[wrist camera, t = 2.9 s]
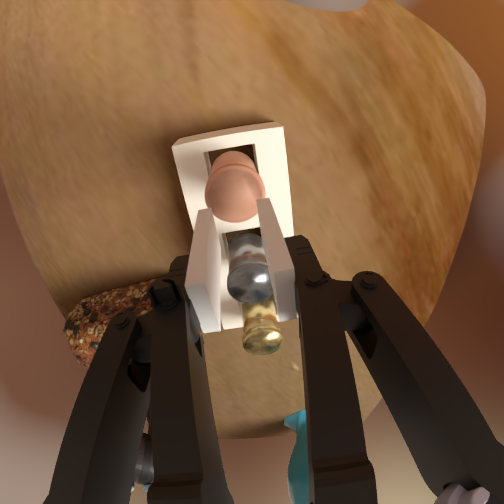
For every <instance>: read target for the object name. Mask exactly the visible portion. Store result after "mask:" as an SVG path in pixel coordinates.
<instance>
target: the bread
mask: <svg viewBox="0 0 504 504" xmlns="http://www.w3.org/2000/svg"><path fill="white" fill-rule="evenodd" d="M165 277H168V275H166V276H165ZM160 278H162V277H160ZM160 278H157V279H160ZM157 279H150V280H148V281H147V282H145V281H144V282H137V283H135V284H131V285H130V286H124V287H120V288H118V289H112V290H110V291H109V292H107V291H105V292H102V293H98V294H95V295H93V296H89V297H87V298H85V299H81V300H80V301H79V302H78V303H77V304H76V306H75V307H74V310H73V311H72V312H70V313H69V314H68V317H67V319H66V323H65V327H64V329H63V330H64V331H63V332H64V336H65V338H66V340H67V342H68V344H69V346H70V349H71V350H72V352H73V354H74V356H75V357H76V358H77V360H78V362H79V363H80V364H81V365H82V366H83V367H84V368H85V369H86V370H87V371H88V368H89V366H90V364H91V361H92V359H93V357H94V354H95V352H96V350H97V347H98V345H99V343H100V341H101V338H102V336H103V334H104V332H105V330H106V327H107V325H108V323H109V321H110V320H111V318H112V317H113V316H114V315H116V314H117V313H119V312H121V311H126V310H129V311H133V312H134V313H135V314H136V316H140V315H143V314H145V313H148V312H150V311H152V310H153V309H154V307H153V305H152V303H151V301H150V299H149V297H148V295H147V293H146V290H147V288H148V286H149V285H150V284H151V283H152V282H154V281H155V280H157ZM200 336H201V338H202V341H203V339H204V333H203V331H202V329H201V326H200ZM203 344H204V341H203ZM203 347H204V345H203Z"/></svg>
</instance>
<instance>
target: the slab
mask: <svg viewBox="0 0 504 504" xmlns="http://www.w3.org/2000/svg"><path fill="white" fill-rule="evenodd" d="M248 144H252V146H253V153H254V159H255V166H256V172H257V173H258V174H259V175H260V177H261V179H262V181H263V184H264V186H265V191H266V197H265V198H270V201H271V203H272V206H273V209H274V212H275V214H276V217H277V220H278V223H279V226H280V228H281V231H282V234H283V237H284V238H285V237H291V236H294V233H293V221H292V209H291V197H290V187H289V177H288V167H287V157H286V148H285V140H284V131H283V126H281V125H280V124H278V123H277V122H268V123H260V124H253V125H246V126H240V127H234V128H228V129H222V130H217V131H212V132H207V133H202V134H197V135H193V136H188V137H184V138H179V139H178V140H177V141H176V142H175V143H174V144H173V145H172V151H173V155H174V159H175V163H176V167H177V171H178V175H179V179H180V183H181V187H182V190H183V194H184V198H185V202H186V206H187V209H188V213H189V217H190V220H191V224H192V227H193V231H194V229H195V224H196V219H197V214H198V210H201V209H206V208H208V207H207V205H206V202H205V197H204V193H205V187H206V183H207V181H208V179H209V177H210V174H211V163H210V159H209V154H208V151H214V150H219V149H224V148H230V147H236V146H242V145H248ZM213 217H214V221H215V225H216V230H217V234H218V238H219V242H220V246H221V279H220V319H221V322H222V325H223V328H224V329H231V328H238V327H243V317H242V304H243V303H242V302H239V301H237V300H235V299H234V298H233V297H231V295H230V294H229V292H228V290H227V276H228V273H229V261H228V242H227V238H226V233H227V232H233V231H239V230H245V229H251V228H257V227H260V223H259V217H258V213H257V214H256V215H255V216H254V217H252V218H251V219H249V220H247V221H244V222H239V223H230V222H225V221H222V220H220V219H218V218H217V217H215V216H214V215H213ZM270 298H271V299H272V300H273V302H274V306H275V311H276V316H277V321H279V317H278V312H277V307H276V302H275V298H274V293H273V295H271V296H270ZM297 318H298V314H297Z"/></svg>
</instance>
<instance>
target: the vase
mask: <svg viewBox="0 0 504 504" xmlns="http://www.w3.org/2000/svg"><path fill="white" fill-rule="evenodd" d="M284 425H285V426H287V427H289V428H291V429H293V430H294V431H295V432H296V434H297V437H296V441H295V445H294V448H293V451H292V454H291V458H290V461H289V466H288V476H287V478H288V479H287V481H288V491H289V496H290V500H291V504H308V483H309V476H308V447H307V426H306V410H301V411H299V412H297V413H295V414H293V415H291V416H289V417H286V418H284Z"/></svg>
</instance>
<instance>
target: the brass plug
mask: <svg viewBox="0 0 504 504" xmlns="http://www.w3.org/2000/svg"><path fill="white" fill-rule="evenodd" d="M242 317H243V329H244V335H243V347H244V349H245V350H246V351H247V352H249V353H251V354H254V355H266V354H270V353H273V352H275V351H277V350H278V349H279V348H280V347H281V346H282V344H283V336H282V332H281V331H280V329H279V325H278V321H277V316H276V311H275V306H274V302H273V300H272V299H271V298H270V297H269V298H268V299H266V300H264V301H262V302H259V303H253V304H247V303H243V304H242Z"/></svg>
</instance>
